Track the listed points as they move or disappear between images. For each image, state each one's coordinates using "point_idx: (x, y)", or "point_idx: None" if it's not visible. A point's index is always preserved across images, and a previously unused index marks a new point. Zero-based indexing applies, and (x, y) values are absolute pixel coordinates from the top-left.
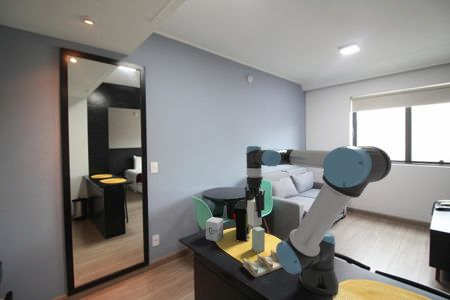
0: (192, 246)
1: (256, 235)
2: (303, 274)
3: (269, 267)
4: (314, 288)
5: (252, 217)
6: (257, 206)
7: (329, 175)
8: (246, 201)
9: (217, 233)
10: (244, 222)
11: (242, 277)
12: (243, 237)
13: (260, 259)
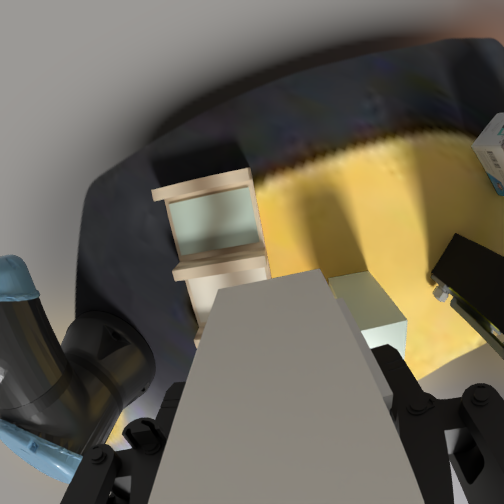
0: (453, 38)
1: (354, 314)
2: (94, 331)
3: (184, 263)
4: (72, 322)
5: (230, 332)
6: (135, 492)
7: None
8: (494, 445)
9: (494, 146)
10: (485, 306)
11: (179, 138)
12: (445, 269)
13: (242, 255)
